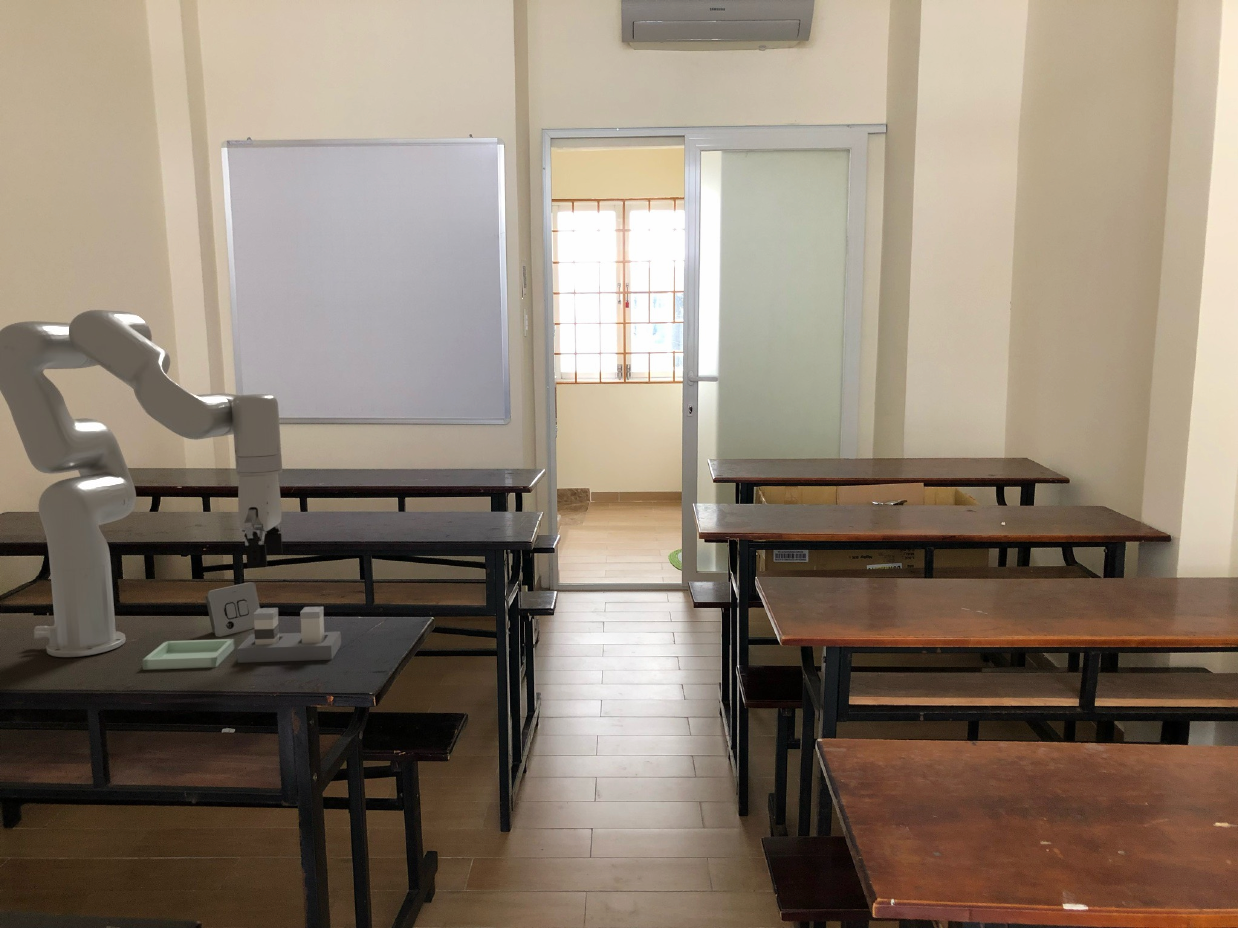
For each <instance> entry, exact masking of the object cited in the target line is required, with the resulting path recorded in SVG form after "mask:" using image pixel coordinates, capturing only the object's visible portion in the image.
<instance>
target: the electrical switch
mask: <svg viewBox="0 0 1238 928" xmlns="http://www.w3.org/2000/svg"><path fill="white" fill-rule="evenodd" d="M205 600H206V601H205V602H206V606H207V611H208V616H209V621H210V622H209V623H210V627H211V631H212V634H215V635H214V636H216V637H217V638H220V637H225V636H228V635H233V634H237V633H240V632H244V631H249V630H252V629H255V626H254V613H255V612H256V611H257V610H258V609H259V608H261V606H260V603H259V598H258V593H257V587H256V583H255V582H252V581H250V582H245V583H240V584H235V585H231V586H225V587H221V588H216V589H212V590H209V591H208V592H207V595H205Z"/></svg>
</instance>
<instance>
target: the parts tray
mask: <svg viewBox="0 0 1238 928" xmlns="http://www.w3.org/2000/svg"><path fill="white" fill-rule="evenodd" d="M234 650H235V638H227V639H226V638H225V639H194V640H193V639H192V640H189V639H188V640H166V641H164V642H162V644H160V645H159V646H158V647H156V648H155V649H154V650H153V651H152V652H150V653H149V654H148V655H147V656H145V657H144V658H143V659H142V670H143V671H145V670H146V671H147V670H172V669H204V668H205V669H207V668H216V667H218V666H219V664H221V663H222V661H224V660H225V659H226V658H227V657H228V656H229V655H230V654H231V653H232V652H233V651H234Z"/></svg>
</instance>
